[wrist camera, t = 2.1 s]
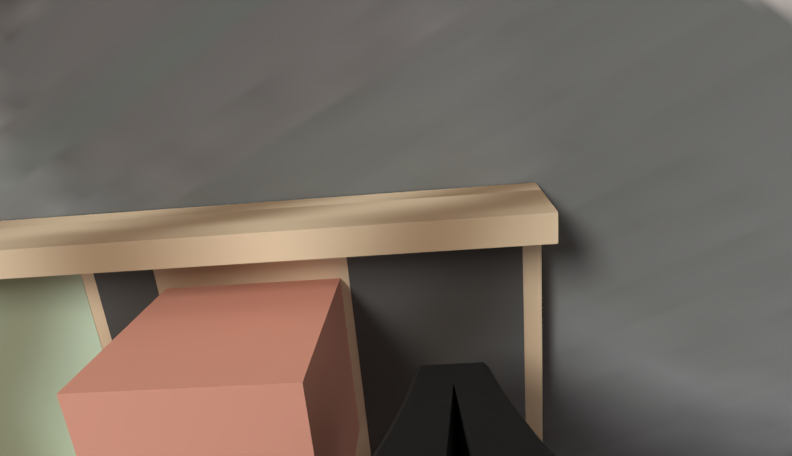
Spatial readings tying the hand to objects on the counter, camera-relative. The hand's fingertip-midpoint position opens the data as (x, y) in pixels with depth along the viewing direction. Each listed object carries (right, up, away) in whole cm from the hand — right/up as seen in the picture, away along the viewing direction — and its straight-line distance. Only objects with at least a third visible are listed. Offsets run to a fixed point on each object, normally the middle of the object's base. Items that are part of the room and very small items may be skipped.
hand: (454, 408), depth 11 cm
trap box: (-6, 0, +3) cm, 7 cm away
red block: (-4, 0, +2) cm, 5 cm away
